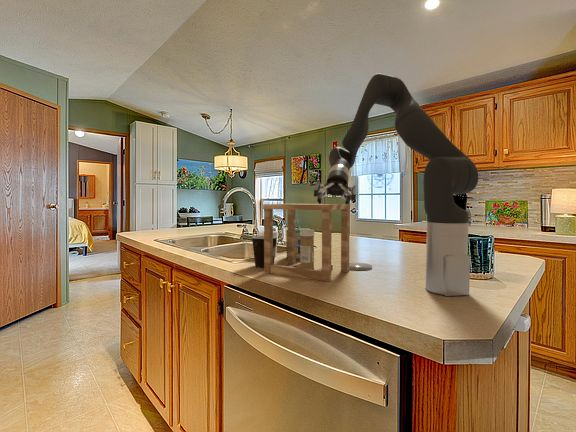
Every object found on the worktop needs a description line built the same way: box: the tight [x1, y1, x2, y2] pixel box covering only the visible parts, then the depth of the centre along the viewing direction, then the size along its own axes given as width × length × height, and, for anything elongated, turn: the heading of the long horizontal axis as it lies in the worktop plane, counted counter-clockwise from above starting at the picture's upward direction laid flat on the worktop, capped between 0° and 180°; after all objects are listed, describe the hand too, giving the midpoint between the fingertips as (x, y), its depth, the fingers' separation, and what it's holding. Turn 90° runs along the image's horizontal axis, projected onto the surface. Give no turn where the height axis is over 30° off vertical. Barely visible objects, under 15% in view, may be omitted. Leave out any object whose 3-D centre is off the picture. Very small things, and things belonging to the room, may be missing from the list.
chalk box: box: [285, 220, 313, 261], centre depth 125 cm, size 9×9×15 cm
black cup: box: [257, 230, 279, 257], centre depth 129 cm, size 8×8×10 cm
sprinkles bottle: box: [299, 228, 315, 270], centre depth 101 cm, size 5×5×13 cm
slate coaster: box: [349, 262, 373, 272], centre depth 108 cm, size 10×10×1 cm
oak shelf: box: [262, 203, 351, 283], centre depth 100 cm, size 17×22×22 cm
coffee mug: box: [251, 235, 278, 269], centre depth 109 cm, size 12×9×10 cm
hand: (332, 203), depth 103 cm, fingers open, 8 cm apart
